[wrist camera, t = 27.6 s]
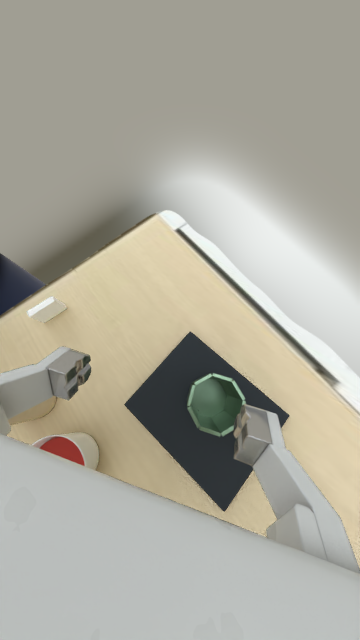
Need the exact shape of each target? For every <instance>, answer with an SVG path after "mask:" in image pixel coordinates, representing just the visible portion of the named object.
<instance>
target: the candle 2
mask: <svg viewBox="0 0 360 640" xmlns="http://www.w3.org/2000/svg"><path fill="white" fill-rule="evenodd" d="M31 446H34V447H37V448H39V449H42V450H44V451H47V452H49V453H52V454H54V455H57V456H60V457H62V458H65V459H67V460H70V461H72V462H75V463H78V464H80V465H83V466H85V467H88V468H90V469H93V470H96V468H97V465H98V461H99V450H98V446H97V444H96V442H95V440H94V439H93V438H92V437H91V436H90V435H88V434H86V433H81V432H76V433H66V434H57V435H50V436H46V437H43V438H41V439H39V440H37V441H36V442H34V443H33V444H32V445H31Z"/></svg>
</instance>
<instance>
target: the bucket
mask: <svg viewBox="0 0 360 640" xmlns="http://www.w3.org/2000/svg"><path fill="white" fill-rule="evenodd" d="M192 383H193V384H191V385H190V389H189V393H188V397H187V409H188V410H189V412H190V414H191V416H192V418H193V420H194V422H195V424H196V426H197V428H199V430H201V431H204V432H207V433H210V434H213V435H216V436H219V437H220V436H221V435H222V436H225V435H226V434H228V433H229V432H231V431H233V428H234V422H235V418H236V416H237V414H239V413H241V411H240V408H241V407H242V405H243V404H246V401H244V400H245V397H244V395H243V394H242V392H241V390H240V389H239V387H238V386H237V384H236V382H235V381H234V380H232V378H229V377H225V376H222V375H219V374H215V373H210V374H207V375H204V376H202V377H200V378H199V379H197V380H195V381H193V382H192Z"/></svg>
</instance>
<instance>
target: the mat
mask: <svg viewBox="0 0 360 640" xmlns="http://www.w3.org/2000/svg"><path fill="white" fill-rule="evenodd" d="M210 373H215V374H219V375H222V376H225V377H229V378H232V380H234V381H235V382H236V384H237V386H238V387H239V389H240V390H241V392H242V394H243V395H244V397H245V400H244V401H246V405H250V406H253V407H256V408H259V409H263V410H266V411H269V412H272V413H275V414H277V416H278V419H279V423H280V427H281V428H282V426H283V425H284V423H285V422H286V420H287V419H288V417H289V415H288V414H287V413H286V412H285V411H283V410H282V409H281V408H280V407H279V406H278V405H276V404H275V403H274V402H273V401H272V400H271V399H269V398H268V397H267V396H266V395H265V394H263V393H262V392H261V391H260V390H259V389H258V388H256V387H255V386H254V385H253V384H252V383H251V382H249V381H248V380H247V379H246V378H245V377H243V376H242V375H241V374H240V373H239V372H238V371H236V370H235V369H234V368H233V367H232V366H231V365H229V364H228V363H227V362H226V361H225V360H223V359H222V358H221V357H220V356H219V355H218V354H216V353H215V352H214V351H213V350H212V349H211V348H209V347H208V346H207V345H206V344H205V343H203V342H202V341H201V340H200V339H199V338H198V337H196V336H195V335H194V334H193V333H192V332H189V333H188V334H187V336H186V337H185V338H184V339H183V340H182V341H181V342H180V343H179V344H178V346H177V347H176V348H175V349H174V350H173V351H172V352H171V353H170V354H169V356H168V357H167V358H166V359H165V360H164V361H163V362H162V363H161V364H160V366H159V367H158V368H157V369H156V370H155V371H154V372H153V373H152V374H151V376H150V377H149V378H148V379H147V380H146V381H145V382H144V383H143V384H142V386H141V387H140V388H139V389H138V390H137V391H136V392H135V393H134V394H133V396H132V397H131V398H130V399H129V400H128V401H127V402H126V403H125V404H124V405H125V406H126V407H127V408H128V409H129V410H130V411H131V413H132V414H133V415H134V416H135V417H136V418H137V419H138V420H139V421H140V422H141V423H142V424H143V425H144V426H145V428H146V429H147V430H148V431H149V432H150V433H151V434H152V435H153V436H154V437H155V438H156V439H157V440H158V441H159V443H160V444H161V445H162V446H163V447H164V448H165V449H166V450H167V451H168V452H169V453H170V454H171V455H172V456H173V458H174V459H175V460H176V461H177V462H178V463H179V464H180V465H181V466H182V467H183V468H184V469H185V470H186V471H187V473H188V474H189V475H190V476H191V477H192V478H193V479H194V480H195V481H196V482H197V483H198V484H199V485H200V486H201V488H202V489H203V490H204V491H205V492H206V493H207V494H208V495H209V496H210V497H211V498H212V499H213V500H214V501H215V503H216V504H217V505H218V506H219V507H220V508H221V509H222V510H223V511H224V512H225V510H226V509H227V507H228V506H229V504H230V503H231V501H232V500H233V498H234V497H235V496H236V494H237V493H238V491H239V490H240V488H241V487H242V485H243V484H244V482H245V481H246V479H247V478H248V476H249V475H250V473H251V472H252V470H253V466H251V465H249V464H246V463H244V462H241V461H238V460H236V459H234V442H235V440H236V438H235V436H234V435H233V431H231V432H229V433H228V434H226V435H225V436H222V435H221V436H220V437H219V436H216V435H213V434H210V433H207V432H204V431H201V430H199V428H197V426H196V424H195V422H194V420H193V418H192V416H191V414H190V412H189V410H188V409H187V397H188V393H189V389H190V385H191V384H193V383H192V382H193V381H195V380H197V379H199V378H200V377H202V376H204V375H207V374H210Z"/></svg>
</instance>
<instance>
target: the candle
mask: <svg viewBox="0 0 360 640" xmlns="http://www.w3.org/2000/svg"><path fill="white" fill-rule="evenodd" d="M55 402H56V396H53V397H52V398H50V399H48V400H46V401H44V402H42V403H40V404H38V405H36V406H34V407H32V408H30V409H28V410H26V411H24V412H22V413H20V414H18V415H16V416H14V417H12V418H10V419H8V422H9V424H10V425H14V424H18V423H22V422H26V421H30V420H34V419H37V418H41V417H43V416H45V415H47V414H48V413H49V412H50V411H51V410H52V408H53V407H54V405H55Z"/></svg>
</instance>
